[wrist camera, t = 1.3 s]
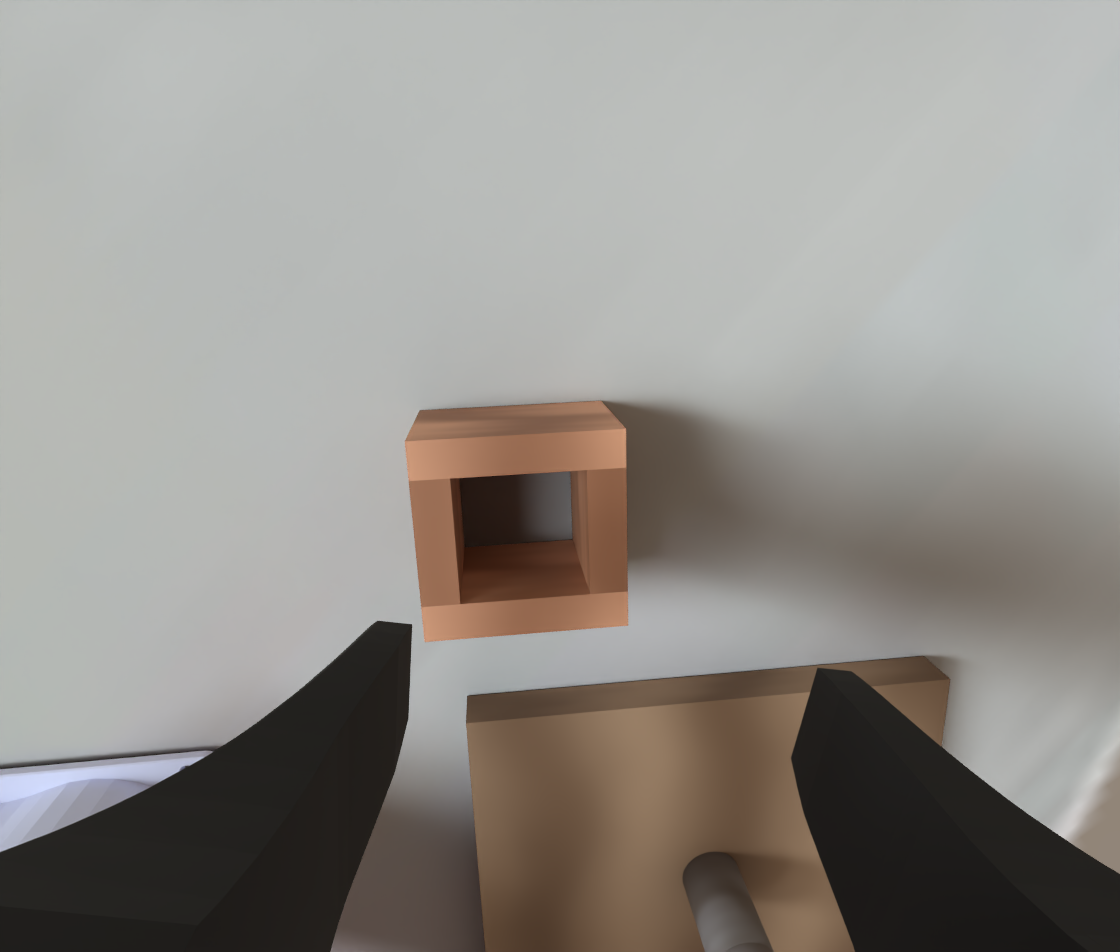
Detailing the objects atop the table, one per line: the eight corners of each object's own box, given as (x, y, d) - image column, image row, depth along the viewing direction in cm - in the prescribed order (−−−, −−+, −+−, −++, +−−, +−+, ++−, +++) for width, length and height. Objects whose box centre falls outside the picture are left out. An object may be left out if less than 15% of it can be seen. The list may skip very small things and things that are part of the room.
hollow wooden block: (435, 578, 22) (424, 642, 19) (419, 410, 21) (404, 441, 17) (604, 566, 23) (627, 625, 19) (600, 400, 21) (626, 428, 18)
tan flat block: (493, 1011, 28) (495, 1204, 22) (467, 695, 24) (461, 831, 18) (887, 961, 29) (986, 1131, 23) (923, 656, 25) (1053, 769, 19)
